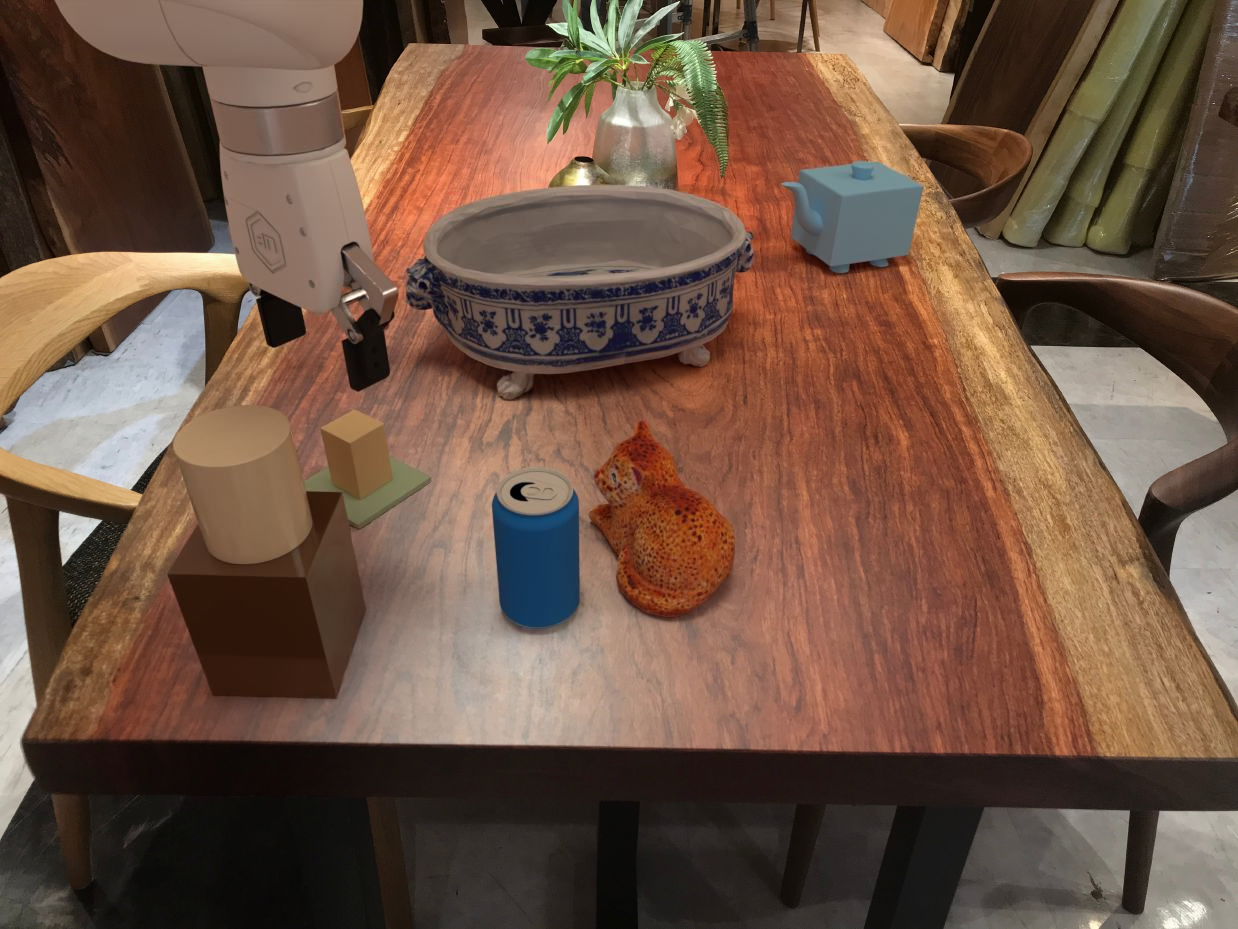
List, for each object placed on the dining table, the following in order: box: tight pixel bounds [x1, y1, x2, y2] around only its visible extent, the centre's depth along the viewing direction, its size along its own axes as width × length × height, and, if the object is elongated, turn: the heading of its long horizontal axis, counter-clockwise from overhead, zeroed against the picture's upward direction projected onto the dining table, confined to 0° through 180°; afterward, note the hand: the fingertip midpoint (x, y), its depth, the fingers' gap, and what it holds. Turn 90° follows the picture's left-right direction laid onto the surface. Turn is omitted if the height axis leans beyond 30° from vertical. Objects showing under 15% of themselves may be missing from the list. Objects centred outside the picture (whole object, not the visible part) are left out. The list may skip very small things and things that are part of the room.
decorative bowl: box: [404, 184, 756, 401], centre depth 105 cm, size 42×27×15 cm, turn 110°
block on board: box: [303, 408, 432, 530], centre depth 83 cm, size 9×9×7 cm
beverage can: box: [491, 466, 581, 629], centre depth 69 cm, size 6×6×12 cm
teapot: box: [780, 160, 925, 274], centre depth 127 cm, size 22×11×14 cm, turn 111°
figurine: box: [588, 420, 736, 618], centre depth 75 cm, size 15×11×10 cm
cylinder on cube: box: [166, 404, 367, 699], centre depth 62 cm, size 9×9×20 cm
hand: (327, 361), depth 66 cm, fingers open, 9 cm apart
